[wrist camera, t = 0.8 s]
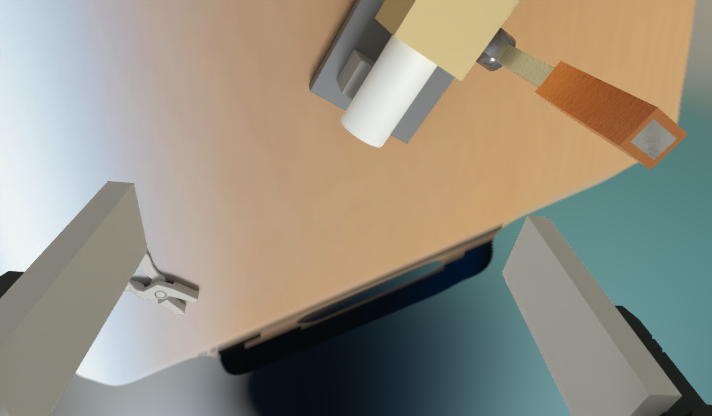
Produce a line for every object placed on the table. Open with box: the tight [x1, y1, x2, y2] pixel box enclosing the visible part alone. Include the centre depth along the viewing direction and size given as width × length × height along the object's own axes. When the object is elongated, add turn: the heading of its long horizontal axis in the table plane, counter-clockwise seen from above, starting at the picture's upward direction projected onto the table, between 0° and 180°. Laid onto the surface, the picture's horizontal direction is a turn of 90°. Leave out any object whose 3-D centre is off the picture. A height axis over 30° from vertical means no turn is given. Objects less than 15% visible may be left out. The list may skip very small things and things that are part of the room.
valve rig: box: [309, 0, 520, 147], centre depth 31 cm, size 22×11×10 cm, turn 148°
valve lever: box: [476, 27, 687, 169], centre depth 25 cm, size 3×3×17 cm
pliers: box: [124, 252, 199, 315], centre depth 45 cm, size 10×2×15 cm
